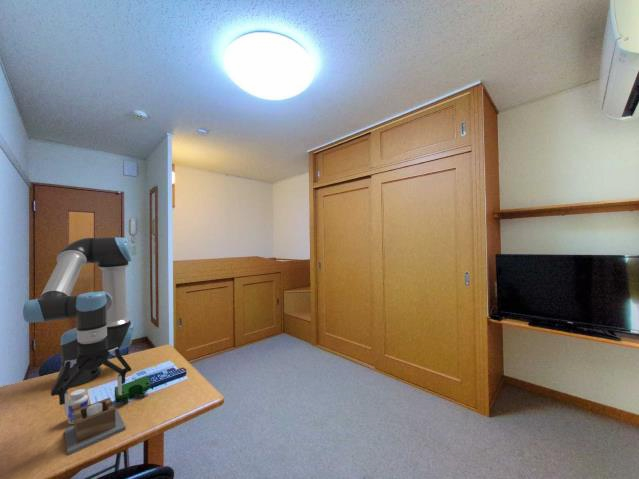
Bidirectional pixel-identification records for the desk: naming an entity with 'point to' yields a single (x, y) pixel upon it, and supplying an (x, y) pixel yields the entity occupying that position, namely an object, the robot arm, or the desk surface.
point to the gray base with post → (74, 446)
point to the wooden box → (94, 421)
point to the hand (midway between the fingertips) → (94, 402)
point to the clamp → (133, 389)
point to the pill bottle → (76, 403)
